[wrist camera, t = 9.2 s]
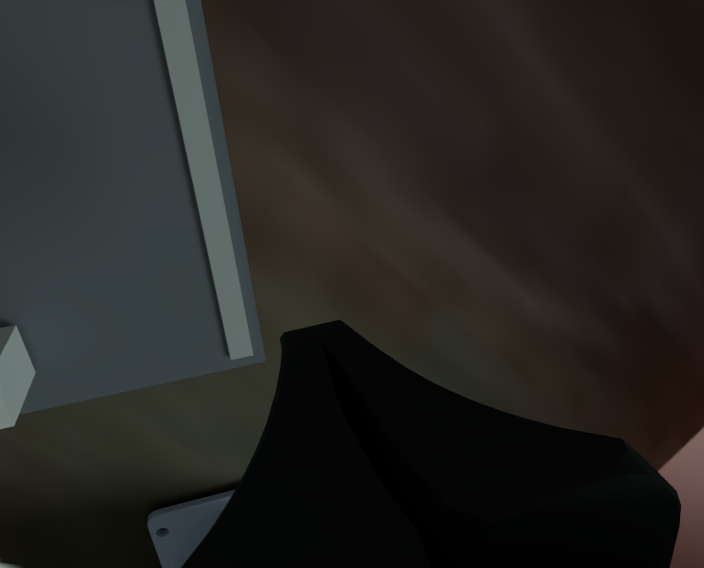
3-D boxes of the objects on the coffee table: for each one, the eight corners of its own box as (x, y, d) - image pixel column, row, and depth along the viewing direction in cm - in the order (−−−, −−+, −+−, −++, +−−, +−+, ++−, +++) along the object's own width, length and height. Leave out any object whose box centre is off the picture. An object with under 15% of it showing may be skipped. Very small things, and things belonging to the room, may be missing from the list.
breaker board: (260, 340, 22) (266, 364, 20) (-84, 412, 20) (-105, 445, 18) (166, -180, 15) (165, -201, 13) (-403, -166, 12) (-483, -189, 11)
